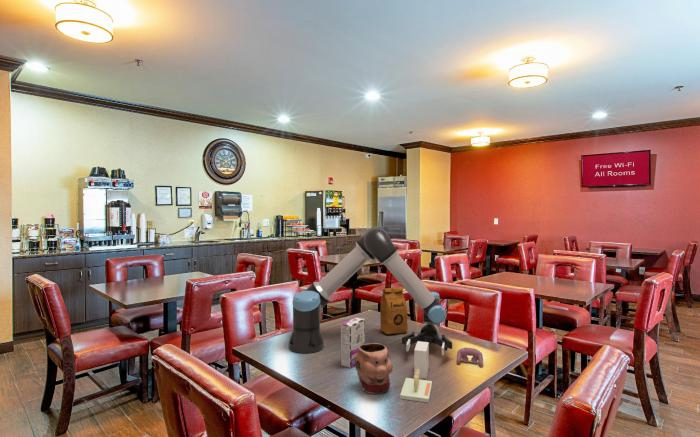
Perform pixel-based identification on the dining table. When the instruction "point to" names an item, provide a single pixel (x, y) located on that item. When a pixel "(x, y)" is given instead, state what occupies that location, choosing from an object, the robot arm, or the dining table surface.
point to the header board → (416, 389)
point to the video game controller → (470, 352)
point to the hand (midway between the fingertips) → (424, 349)
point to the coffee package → (393, 311)
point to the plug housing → (421, 359)
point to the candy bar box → (351, 340)
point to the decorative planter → (373, 367)
